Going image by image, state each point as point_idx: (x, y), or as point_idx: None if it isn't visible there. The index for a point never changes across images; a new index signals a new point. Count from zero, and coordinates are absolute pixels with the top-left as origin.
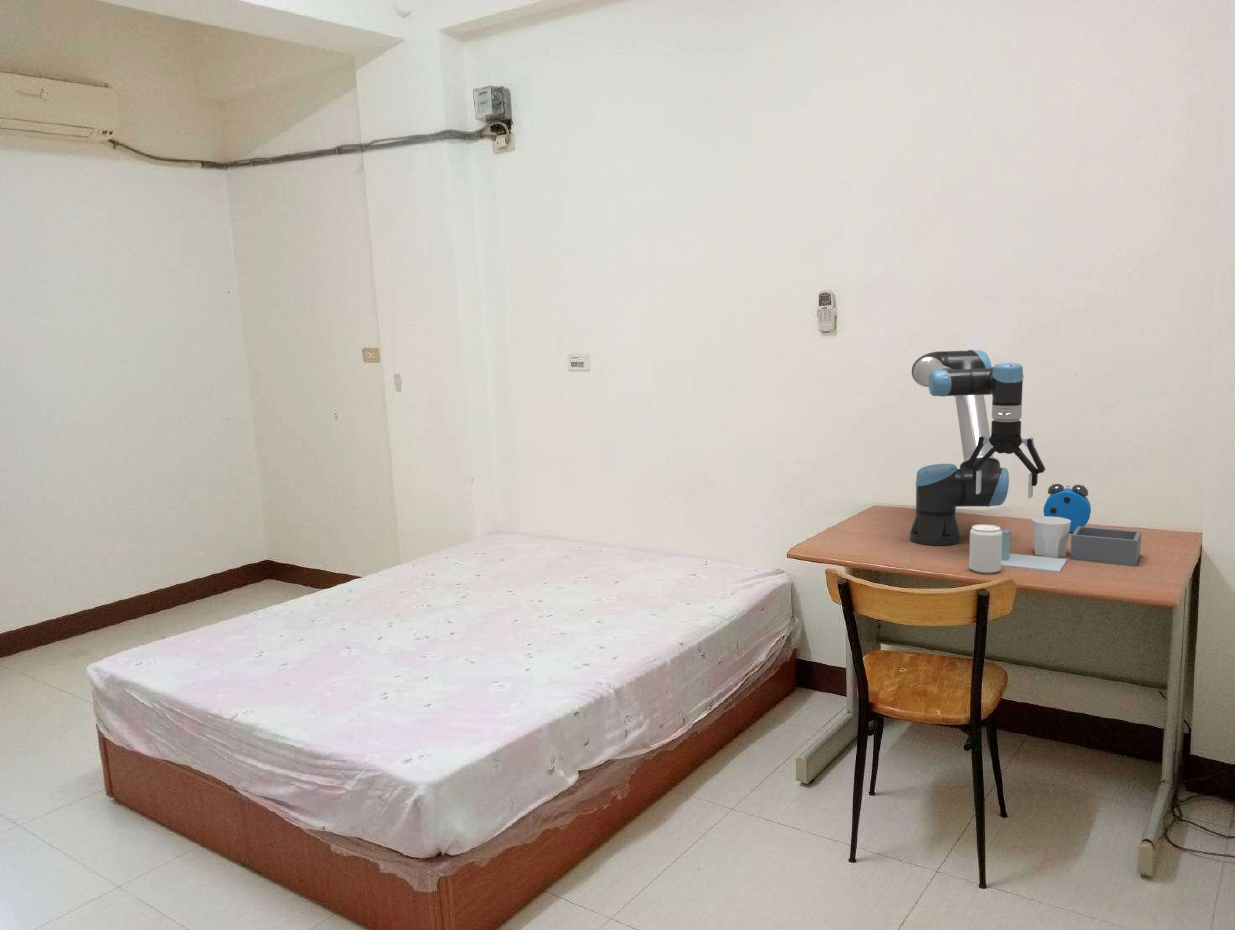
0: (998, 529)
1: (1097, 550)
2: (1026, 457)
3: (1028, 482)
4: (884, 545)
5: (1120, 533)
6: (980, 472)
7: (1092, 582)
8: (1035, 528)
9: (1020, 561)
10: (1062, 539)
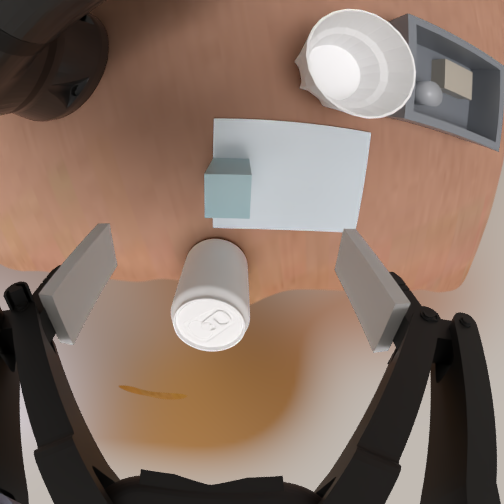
0: (243, 335)
1: (433, 128)
2: (409, 420)
3: (359, 320)
4: (6, 168)
5: (476, 58)
6: (66, 310)
7: (396, 266)
8: (316, 91)
9: (276, 186)
10: (375, 91)
